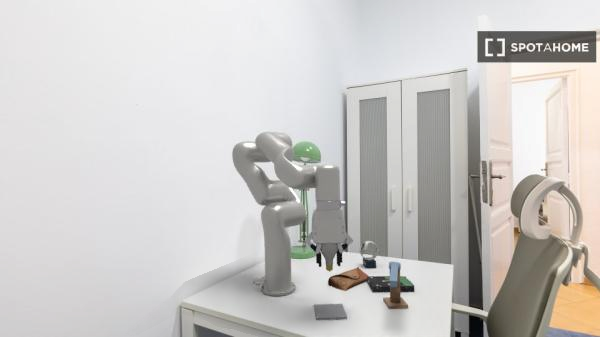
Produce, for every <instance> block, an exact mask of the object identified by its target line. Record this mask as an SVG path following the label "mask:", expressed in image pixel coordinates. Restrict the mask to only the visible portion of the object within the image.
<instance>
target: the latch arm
mask: <svg viewBox="0 0 600 337" xmlns="http://www.w3.org/2000/svg"><path fill="white" fill-rule="evenodd" d="M401 266H402V265H401V262H398V261H389V262H388V269H389V270H390V269H391V272H390V271H389V276H390V280H389V281H390V286H391V287H397V282H398V270H400V271H401Z"/></svg>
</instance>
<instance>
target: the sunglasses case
mask: <svg viewBox="0 0 600 337" xmlns="http://www.w3.org/2000/svg"><path fill="white" fill-rule="evenodd" d="M367 276H368V277H369V275H368V274H367V273H365V271H363V270H362V269H361V268H360V267H359V266H357V267H356V268H353V269H350V270H346V271H344V272H341V273H338V274H333V275H332V276H331V275H330V277H329V278H328V280H327V285H328V287H331V286H332V288H335V289H337V290H340V291H343V292H347V291H348V290H350V289H353V288H354V287H356V286H359V285H361V284H364V283H367Z"/></svg>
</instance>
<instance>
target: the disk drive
mask: <svg viewBox="0 0 600 337" xmlns="http://www.w3.org/2000/svg"><path fill="white" fill-rule="evenodd" d="M368 276H369V275H368ZM368 276H367V282H366V283H367V285H368V286H369V288H370V290H371V292H372V293H390V281H389V280H390V275H382V276H381V275H379V276H378V275H376V276H375V275H373V276H369V277H368ZM400 293H415V284H413V282H412V281H411V280H409V279H408V278H407V276H404V275H402V276H401V275H400Z"/></svg>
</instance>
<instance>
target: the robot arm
mask: <svg viewBox="0 0 600 337" xmlns="http://www.w3.org/2000/svg"><path fill="white" fill-rule="evenodd" d="M231 153H232V155H231V156H232V157H231V158H232V162H233V166H234V168H235V170H236V172H237V173H238V175H239V176H240V177H241V178H242V179H243V180H244V182H245V183H246V187H247V188H248V190H249V192H250V193H251V195H252V197H253V199H254V201H255V202H256V203H257V205H259V206H262V207H263V208H262V210H261V212H260V218H261V224H262V229H263V242H264V243H263V244H264V276H261V277H260V278H259V277H254V278H252V284H254V285H255V286H260V290H261V292H262V293H263V294H264V295H267V296H273V297H275V296H276V297H278V296H279V297H280V296H286V295H287V296H288V295H290V294H292V293H294V292H295V291H296V290H297V289H296V284H295V283H294V282H293V281H292V248H291V247H292V246H291V245H292V242H291V238H290V235H289V234H288V232H287V230H286V228H290V227H296V226H300V225H301V224H303V223H304V222H305V221H306V219H307V218H306V217H307V211H306V208H305V205H304V204H303V203H304V202H302V200H301V199H300V196H298V194H297V192H296V191H295V190H306V189H315V190H314V191H315V196H314V197H315V209H313V211H312V216H311V232H310V233H309V234H308V236H307V237H306V238H305V240H304V244H306V245H307V246H308V247H309V248H310V249H312V251H314V252H315V261H316V264H318V267H319V268H322V265H323V264H322V253H321V251H320V249H321V245H322V244H325V243H335V244H337V246H338V251H337V253H336V265H337V266H338V267H341V264H343V253H344V251H345V250H346V249H347V248H348V246H350V245H351V244H352V243H353V242H354V239H352V237H351V235H349V233H348V232H347V231H346V221H345V217H344V216H345V215H344V211H343V209H341V208H342V207H346V201H342V200H341V180H340V178H341V175H340V173H341V172H340V167H339V166H338V165H335V164H332V165H331V164H325V165H319V164H317V165H316V164H299V165H298V164H296V163H295V164H294V163H293V160H294V159H295V153H296V152H295V149H294V148H293V140H292V138H291V137H290V135H289V134H286V133H284V132H277V131H276V132H275V131H264V132H261V133H259V134H258V135H257V136H256V137H255V139H254V141H251V140H250V141H249V140H247V141H241V142H238V143H236V144H235V145H234V146H233V148H232V152H231ZM270 162H272V163H273V167H274V168H273V169H274V172H275V175H276V177H277V179H278V180H273V179H270V178H269V177H268V176H267V174H266V172H265V170H263V169H262V168H261V166H259V165H257V164H255V163H270ZM311 240H312V241H311Z"/></svg>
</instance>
